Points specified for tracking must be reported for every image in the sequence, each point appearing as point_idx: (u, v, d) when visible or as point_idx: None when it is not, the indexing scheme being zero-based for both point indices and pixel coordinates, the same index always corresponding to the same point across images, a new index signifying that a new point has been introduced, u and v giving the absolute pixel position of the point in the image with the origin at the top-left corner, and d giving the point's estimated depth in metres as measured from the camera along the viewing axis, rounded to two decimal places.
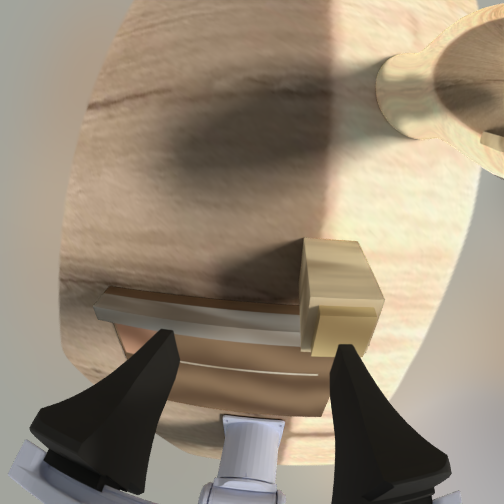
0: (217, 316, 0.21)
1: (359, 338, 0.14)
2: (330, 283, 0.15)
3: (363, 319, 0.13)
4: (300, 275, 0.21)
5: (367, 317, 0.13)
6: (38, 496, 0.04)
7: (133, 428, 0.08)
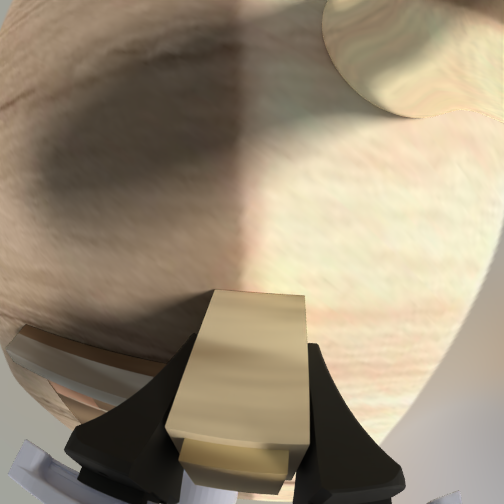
0: (118, 381, 0.14)
1: (261, 484, 0.06)
2: (214, 398, 0.08)
3: (260, 473, 0.06)
4: None
5: (267, 473, 0.06)
6: (38, 496, 0.04)
7: None
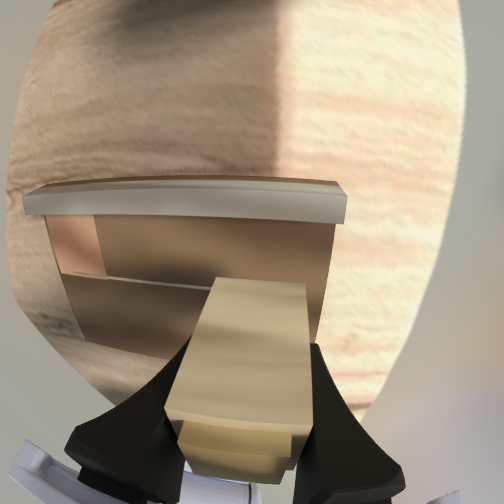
0: (146, 184, 0.15)
1: (263, 471, 0.07)
2: (214, 379, 0.08)
3: (262, 457, 0.06)
4: None
5: (269, 456, 0.06)
6: (38, 496, 0.04)
7: (173, 439, 0.08)
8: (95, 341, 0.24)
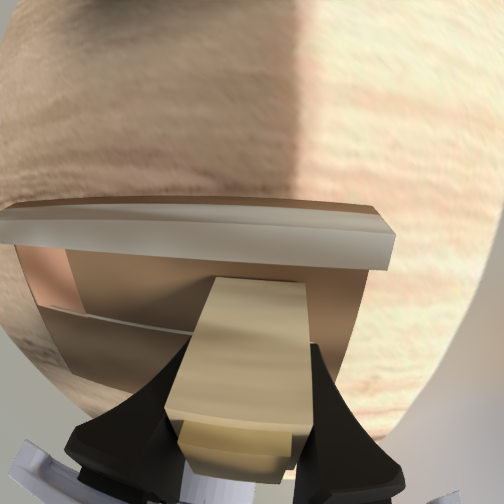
0: (120, 210, 0.11)
1: (263, 471, 0.07)
2: (215, 379, 0.08)
3: (262, 456, 0.06)
4: None
5: (269, 456, 0.06)
6: (38, 496, 0.04)
7: (173, 439, 0.08)
8: (82, 376, 0.20)
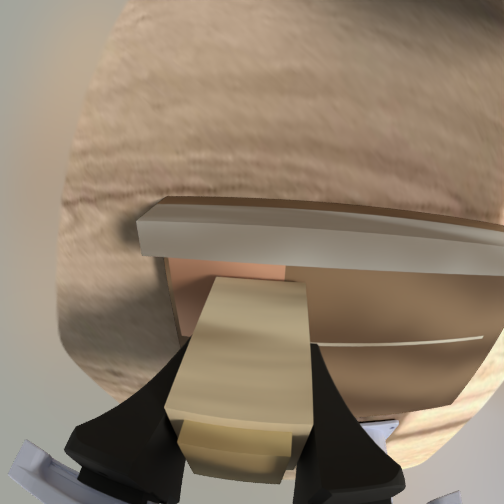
0: (416, 227, 0.10)
1: (263, 471, 0.07)
2: (214, 379, 0.08)
3: (262, 456, 0.06)
4: None
5: (269, 456, 0.06)
6: (38, 496, 0.04)
7: (173, 439, 0.08)
8: None
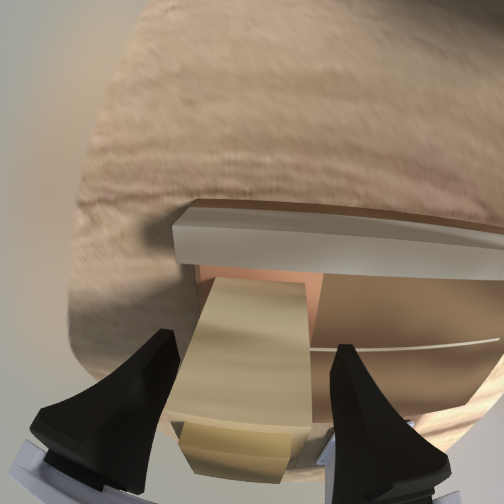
0: (452, 234, 0.10)
1: (263, 471, 0.07)
2: (214, 381, 0.08)
3: (262, 458, 0.06)
4: None
5: (268, 457, 0.06)
6: (38, 496, 0.04)
7: (133, 428, 0.08)
8: None
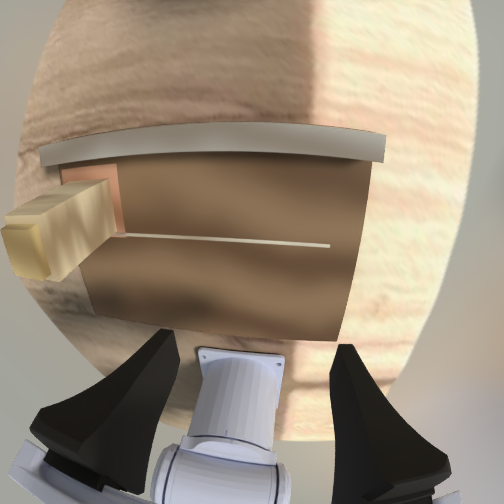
0: None
1: (28, 255, 0.11)
2: (27, 207, 0.13)
3: (21, 233, 0.11)
4: None
5: (21, 230, 0.11)
6: (38, 496, 0.04)
7: (133, 428, 0.08)
8: (105, 313, 0.23)
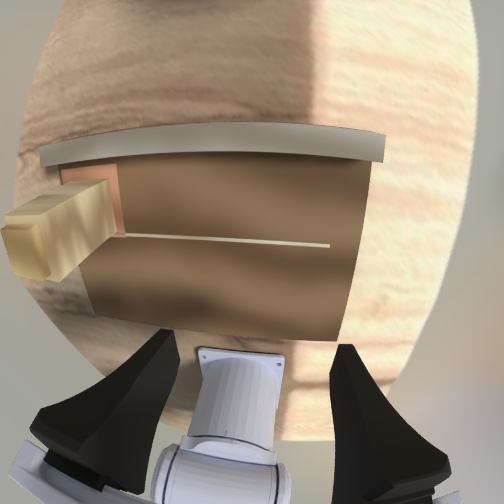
0: None
1: (28, 255, 0.11)
2: (27, 207, 0.13)
3: (21, 233, 0.11)
4: None
5: (21, 230, 0.11)
6: (38, 496, 0.04)
7: (133, 428, 0.08)
8: (105, 313, 0.23)
